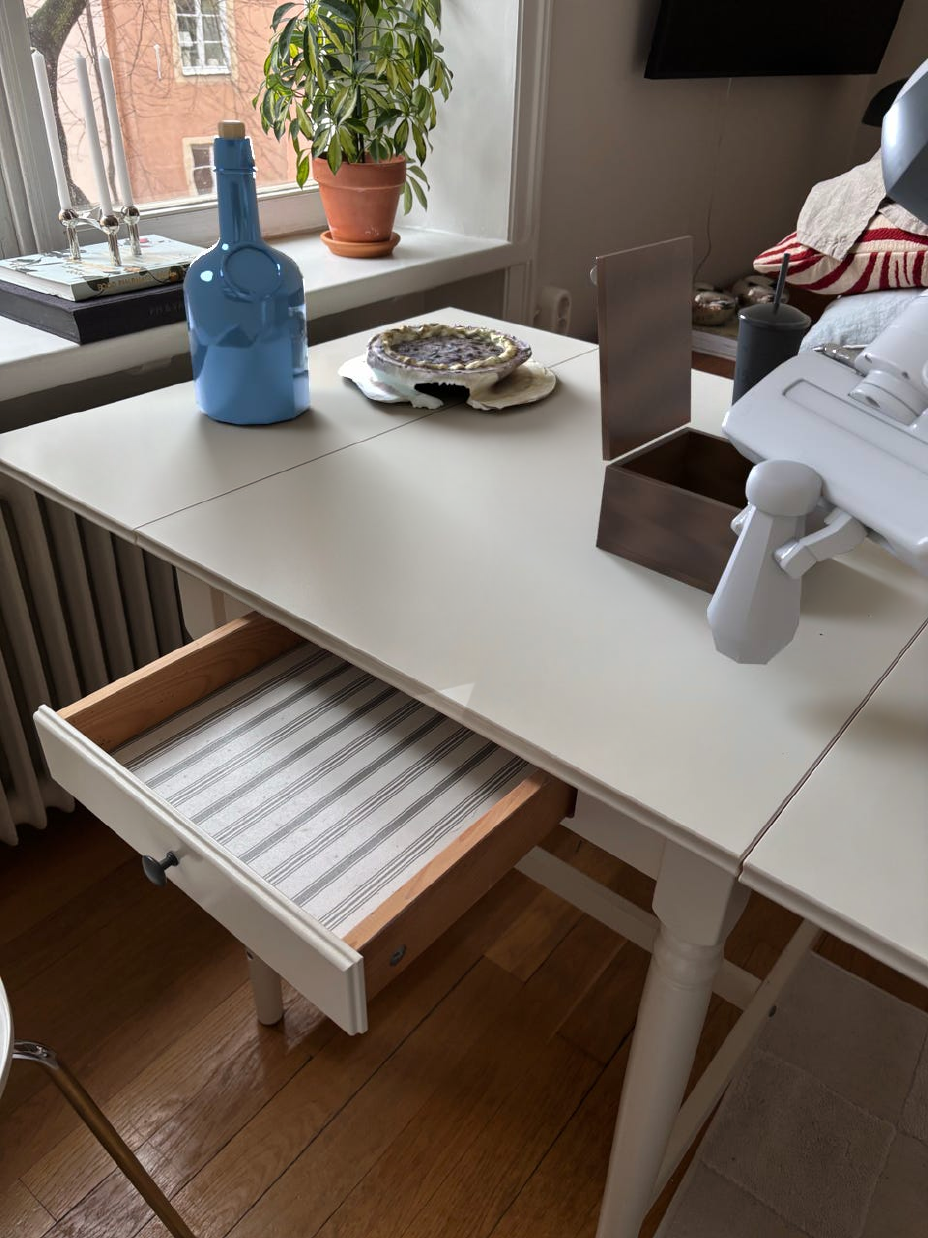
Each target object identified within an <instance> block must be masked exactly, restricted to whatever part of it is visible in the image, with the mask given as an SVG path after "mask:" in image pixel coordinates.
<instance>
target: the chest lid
mask: <svg viewBox="0 0 928 1238" xmlns="http://www.w3.org/2000/svg"><path fill="white" fill-rule="evenodd" d="M590 280H591V282H592V284H593V285H595V286H596V294H597V296H596V299H597V325H598V326H597V328H598V329H597V332H598V357H599V359H598V362H599V389H600V390H599V392H600V393H599V394H600V395H599V396H600V416H601V417H600V423H601V451H602V453H601V455H602V456H601V457H602V461H606V462H611V461H613V460H615V459H617V458H619V457H622V456H624V455H626V454H629V453H630V452H632V451H634V450H636V449H639V448H640V447H642V446H644V445H646V444H648V443H650V442H653V441H654V440H657V439H659V438H661V437H663V436H664V435H665V436H666V434H669V433H671V432H673V431H675V430H677V429H679V428H681V427H684V426H686V425H687V424H689V423H691V422H692V351H693V349H692V347H693V346H692V342H693V341H692V340H693V333H692V332H693V235H684V236H679V237H675V238H671V239H667V240H661V241H658V242H655V243H650V244H645V245H642V246H641V245H640V246H637V247H632V248H629V249H624V250H620V251H617V252H612V253H607V254H603V255H599V256H596V257H595V266H594V267H593V268H592V269H591V271H590Z"/></svg>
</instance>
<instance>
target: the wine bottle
mask: <svg viewBox="0 0 928 1238" xmlns="http://www.w3.org/2000/svg"><path fill="white" fill-rule="evenodd" d="M217 131H218V135H215V136H214V138H213V169H212V172H214V173H215V177H216V195H217V196H216V197H217V208H218V209H217V211H218V212H217V213H218V227H219V228H218V229H219V230H218V231H219V238H218V240H217V242H216V243H215V244H214V245H212V247H210V248H208V249H206V250H204V251H202V252H201V253H199V254H198V255H197V256H195V257H194V258H193V259H192V261H191V262H190V265H189V266H188V269H187V271H186V273H185V275H184V280H183V282H182V283H183V284H182V288H183V301H184V307H185V316H186V324H187V325H186V327H187V332H188V333H187V334H188V341H189V349H190V357H191V358H190V359H191V366H192V376H193V383H194V391H195V400H196V405H197V406H198V409H199V411H201V413H204V414H205V415H206V416H207V417H210V418H211V419H212V420H215V421H219V422H226V423H230V424H235V425H268V424H273V423H277V422H282V421H286V420H290V419H295V418H296V417H297V416H299V415H300V414H302V413H304V412H305V411H307V410H308V408H309V407H310V403H311V386H310V385H311V384H310V368H309V366H310V365H309V364H310V363H309V346H308V330H307V310H306V309H307V308H306V293H305V292H306V291H305V290H306V289H305V278H304V275H303V273H302V271H301V269H300V267H299V265H298V264H297V262H295V261H294V259H293V258H292V257H290V256H289V255H287V254H286V253H285V252H283V251H280V250H278V249H276V248H274V247H272V246H271V245H269V244H267V242H266V240H265V239H264V237H263V235H262V228H261V220H260V211H259V202H258V191H257V182H256V175H255V174H256V173H257V171H258V168H257V167H256V161H255V155H254V150H253V144H252V143H253V142H252V139H251V137H250V136H249V135H246V125H245V122H244V121H241V120H232V119H228V120H227V119H226V120H225V119H224V120H220V121H218V123H217Z"/></svg>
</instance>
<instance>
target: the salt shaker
mask: <svg viewBox="0 0 928 1238" xmlns="http://www.w3.org/2000/svg"><path fill="white" fill-rule="evenodd" d="M821 487H822V480H821V478H820V477H819V476H818V474H817V473H816V471H815V470H814V469H812V468H811V467H809V466H807V465H805V464H802V463H799V462H795V461H790V460H782V459H777V460H767V461H764V462H761V463H759V464H758V465H756V466H754V468H753V469H752V471H751V473H750V475H749V478H748V480H747V484H746V497H747V499H748V501H749V503H750V504H752V505H753V506H752V508H751V511H750V513H749V515H748V518H747V520H746V522H745V525H744V527H743V530H742V532H741V534H740V536H739V539H738V541H737V543H736V546H735V548H734V550H733V552H732V555H731V557H730V559H729V562H728V564H727V566H726V569H725V571H724V573H723V576H722V578H721V580H720V583H719V585H718V587H717V589H716V592H715V594H714V595H712V598H711V601H710V602H709V605H708V607H707V608H706V618H707V621H708V624H709V627H710V631H711V634H712V635H711V636H712V638H713V641H714V646H715V649H716V651H717V652H718V653H720V654H722V655H724V656H725V657H726V658H728V659H730V660H732V661H734V662H735V663H737V664H739V665H742V664H743V665H762V666H765V665H768V664H769V663H770V662H771V661H772V659H774V658H775V657H776V656H777V655H778V654H779V653H781V651H783V649H784V648H786V647H787V646H788V645H789V644H790V643H791V642H792V641H793V640H794V637H795V635H796V633H797V630H798V627H799V625H800V613H801V612H800V611H801V598H802V597H801V596H802V581H803V575H802V576H801V577H800V578H798V579H792V578H791V577H790V576H788V575H787V574H786V573H785V572H783V571H782V569H781V568H780V567H779V566H778V565H777V564H776V563H775V562H774V561H773V560H772V556H771V555H772V553H773V551H775V550H776V549H778V548H779V547H781V546H782V545H783V544H784V543H785V542H786V541H787V540H789V539H790V538H791V537H794V538H795V539H796V540H798V541H799V540H800V539H802V538H804V534H805V518H806V514H808V513H810V512H813V510H814V509H815V507H816V505H817V503H818V501H819V498H820V494H821ZM799 542H800V541H799Z"/></svg>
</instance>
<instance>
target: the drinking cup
mask: <svg viewBox="0 0 928 1238" xmlns="http://www.w3.org/2000/svg"><path fill="white" fill-rule="evenodd" d="M790 258H791V253H788V252H784V253H783V256H782V261H781V266H780V271H779V275H778V281H777V285H776V291H775V295H774V299H773V301H767V302H760V303H755V304H753V305H750V306H746V307H743V308H741V309H739V310H738V312H737V319H739V323H738V325H739V326H738V334H737V345H736V355H735V365H734V367H735V368H734V375H733V385H732V387H733V388H732V396H731V407H732V406H733V405H734V404H735V403H736V402H737V401H738V400H739V399H740V398H742V397H743V396H744V395H745V394H746V393H747V392H748V391H749V390H750V389H752V388H753V387H754V386H755V385H756V384H758V383H759V382H760V381H761V380H762V379H763V378H765V377H766V376H767V375H768V374H770V373H771V372H772V371H773V370H775V369H776V368H777V367H779V366H780V365H781V364H783V363H784V362H786V361H787V360H789V359H791V358H792V357H795V356H797V355H798V354H799V353H800V350H801V346H802V343H803V340H804V336H805V333H806V330H807V328H808V327H810V326H811V322H812V319H811V317H810V316H809V315H807V314H806V313H803V312H802V311H801V310H799V309H798V308H796V307H794V306H792V305H790V304H786V303H782V297H783V292H784V287H785V283H786V278H787V273H788V268H789V264H790ZM731 407H730V408H731Z"/></svg>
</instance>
